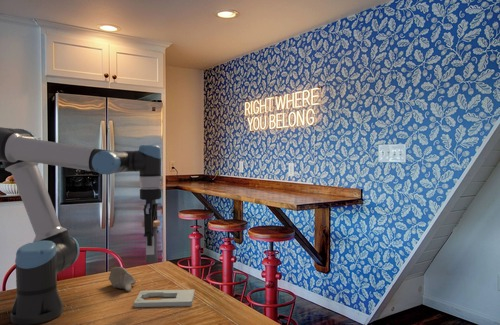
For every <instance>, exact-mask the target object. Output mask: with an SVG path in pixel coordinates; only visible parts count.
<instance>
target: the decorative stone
mask: <svg viewBox="0 0 500 325" xmlns="http://www.w3.org/2000/svg"><path fill="white" fill-rule="evenodd" d="M108 280H109V282H110V284H111V285H112V287H113V288H118V289H123V290H125V291H126V292H131V291H132V289H133V288H132V286H134V285H135V284H136V279H135V278H134V276H133V275H132V274H131V273H130V272H128V270H127V269H126V268H124V267H123V266H115V267H114V266H113V267H111V268H110V271H109V276H108Z"/></svg>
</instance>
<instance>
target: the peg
mask: <svg viewBox="0 0 500 325" xmlns="http://www.w3.org/2000/svg"><path fill="white" fill-rule="evenodd" d="M160 226H161V220H159V219H157V220H155V221H154V222H153V236H154V255H146V254H145V262H146V263H147V264H153V263H157V262H158V233H157V230H158V229H157V228H158V227H160ZM141 227H143V228H144V220H142V221H141Z"/></svg>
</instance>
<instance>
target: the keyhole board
mask: <svg viewBox="0 0 500 325" xmlns="http://www.w3.org/2000/svg"><path fill="white" fill-rule="evenodd" d="M195 293H196V291H195V289H159V290H158V289H157V290H156V289H155V290H151V289H150V290H140V292H139V293H138V295H137V297H136V299H135V300H134V301H133V308H146V307H147V308H150V307H151V308H155V307H188V306H189V307H192V306H193V303H194V297H195ZM149 297H153V298H154V297H163V298H160V299H146V298H149Z"/></svg>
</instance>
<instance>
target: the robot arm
mask: <svg viewBox="0 0 500 325" xmlns="http://www.w3.org/2000/svg"><path fill="white" fill-rule="evenodd" d="M0 162H2V165H3V168H4V170H5V171H7V172H9V173H11V175H12V177H13V179H14V180H13V181H14V182H15V186H16V188H17V190H18V193H19V195H20V198H21V201H22V204H23V207H24V209H25V211H26V214H27V216H28V219H29V223H30V224H31V227H32V230H33V232H34V235H35V237H34V239H33V241H32V242H28V243H26V244H23V245H21V246H20V247H19V248H18V249H17V250H16V252H15V260H14V262H15V263H14V264H15V279H16V280H15V282H16V283H15V284H16V285H15V286H16V296H15V299H14V302H13V304H12V308H11V311H10V322H11V323H12V324H14V325H38V324H42V323H46V322H49V321H52V320H54V319H56V318H58V317H59V316H61V315H62V314H63V312H64V305H63V301H62V299H61V297H60V294H59V291H58V286H57V284H58V282H57V280H58V278H57V275H58V274H60V273H61V272H62V271H65V270H66V269H69V268H70V267H71V266H72V265H73V264H75V263H76V261H78V258H79V256H80V249H81V248H80V245H79V242H78V240H77V239H76V238H75V237H72V236H71V235H70V234H69V231H68V229H67V228H66V227H63V226H61V225H62V224H61V223H60V220H59V218H58V215H57V213H56V210H55V207H54V205H53V202H52V199H51V196H50V194H49V192H48V189H47V186H46V184H45V181H44V179H43V176H42V174H41V171H40V168H39V164H43V165H48V166H49V165H50V166H56V167H62V168H63V167H64V168H69V169H75V170H84V171H90V172H95V173H98V174H101V175H108V176H109V175H112V174H116V173H117V174H118V173H126V172H129V173H131V172H133V173H134V172H137V173H138V172H139V188H140V189H139V199H140V200H142V201H143V200H145V204H144V206H143V207H144V208H143V218H144V219H143V221H144V227H143V228H144V229H143V230H144V234H143V237H145V256H146V255H154V236H153V222H154V221H155V220H158V207H159V205H158V203H157V202H156V200H161V198H162V189H161V187H162V182H164V179H163V178H162V153H161V147H160V146H159V145H157V144H156V145H155V144H148V145H147V144H143V145H139V147H138V150H108V149H103V148H102V149H100V148H94V147H87V146H81V145H74V144H69V143H61V142H57V141H49V140H42V139H39V138H38V136H36V134H34V133H33V132H32V131H30V130H27V129H23V128H11V127H10V128H9V127H1V126H0ZM158 233H159V230H158V227H157V234H158Z"/></svg>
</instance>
